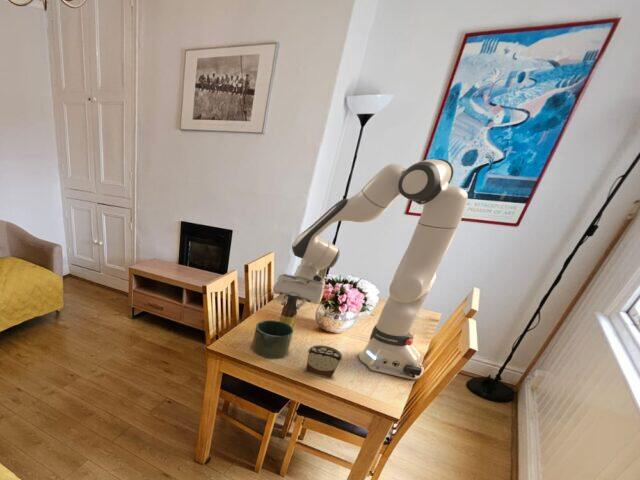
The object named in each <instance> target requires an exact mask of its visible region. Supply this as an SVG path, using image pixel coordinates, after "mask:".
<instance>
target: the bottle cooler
mask: <svg viewBox="0 0 640 480" xmlns="http://www.w3.org/2000/svg"><path fill="white" fill-rule="evenodd" d="M279 321H280V320H279ZM279 321H278V320H271V319H270V320H268V319H266V320H261V321H258V322H257V323H256V325H255V328H254V333H253V339H252V343H251V349H252V351H253V352H254V353H255V354H257V355H258V356H260V357H264V358H268V359H281V358H283V357H286V356H287V355H288V352H289V349H290V345H291V341H292V337H293V335H294V328H293V329H292V327H291V326H289V325H288V324H285V323H283V322H279Z"/></svg>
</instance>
